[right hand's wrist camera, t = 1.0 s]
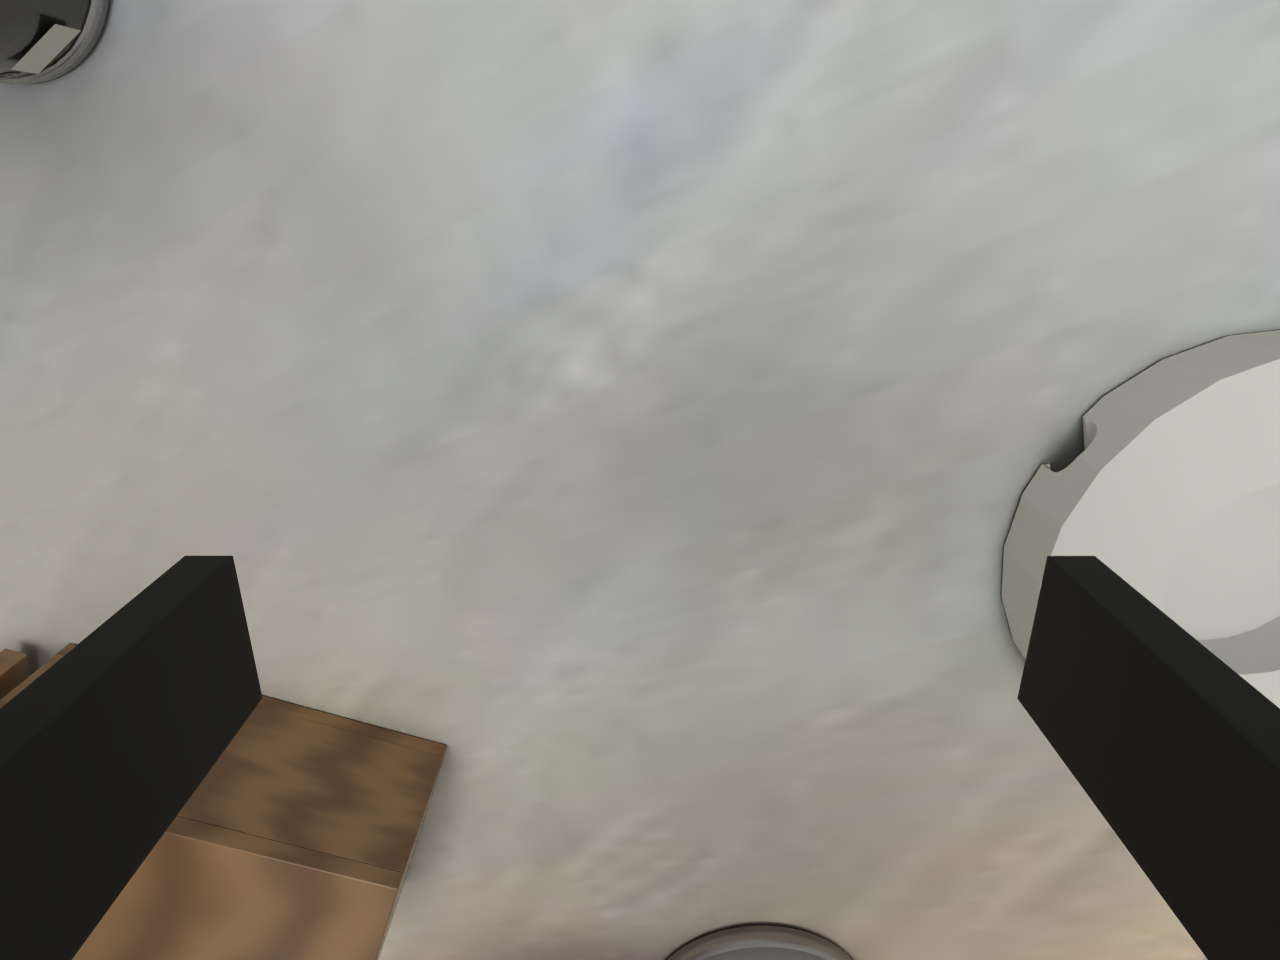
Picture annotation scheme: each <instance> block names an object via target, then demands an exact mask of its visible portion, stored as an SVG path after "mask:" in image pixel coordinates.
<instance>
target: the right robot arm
mask: <svg viewBox="0 0 1280 960" xmlns="http://www.w3.org/2000/svg"><path fill="white" fill-rule="evenodd" d="M261 700H262V694H261V689H260V685H259V680H258V675H257V670H256V665H255V661H254V656H253V651H252V646H251V641H250V636H249V632H248V627H247V622H246V617H245V612H244V608H243V603H242V598H241V593H240V588H239V584H238V579H237V574H236V569H235V564H234V559H233V556H184V557H183V558H182V559H181V560H180V561H178V562H177V563H176V564H175V565H174V566H172V567H171V568H170V569H169V570H167V571H166V572H165V573H164V574H163V575H161V576H160V577H159V578H158V579H157V580H155V581H154V582H153V583H152V584H151V585H149V586H148V587H147V588H146V589H144V590H143V591H142V592H141V593H140V594H138V595H137V596H136V597H135V598H134V599H132V600H131V601H130V602H129V603H128V604H126V605H125V606H124V607H123V608H121V609H120V610H119V611H118V612H117V613H115V614H114V615H113V616H112V617H111V618H109V619H108V620H107V621H106V622H104V623H103V624H102V625H101V626H100V627H98V628H97V629H96V630H95V631H94V632H92V633H91V634H90V635H89V636H88V637H86V638H85V639H84V640H83V641H81V642H80V643H79V644H78V645H77V646H75V647H74V648H73V649H72V650H71V651H69V652H68V653H67V654H66V655H64V656H63V657H62V658H61V659H60V660H58V661H57V662H56V663H55V664H54V665H52V666H51V667H50V668H49V669H48V670H46V671H45V672H44V673H43V674H41V675H40V676H39V677H38V678H37V679H35V680H34V681H33V682H32V683H31V684H29V685H28V686H27V687H26V688H25V689H23V690H22V691H21V692H20V693H18V694H17V695H16V696H15V697H14V698H12V699H11V700H10V701H9V702H8V703H6V704H5V705H4V706H3V707H1V708H0V960H72V959H73V958H74V956H75V955H76V953H77V952H78V951H79V949H80V948H81V947H82V945H83V944H84V942H85V941H86V940H87V938H88V937H89V936H90V934H91V933H92V931H93V930H94V929H95V927H96V926H97V925H98V923H99V922H100V920H101V919H102V918H103V916H104V915H105V914H106V912H107V911H108V910H109V908H110V907H111V905H112V904H113V903H114V901H115V900H116V899H117V897H118V896H119V894H120V893H121V892H122V890H123V889H124V888H125V886H126V885H127V883H128V882H129V881H130V879H131V878H132V877H133V875H134V874H135V872H136V871H137V870H138V868H139V867H140V866H141V864H142V863H143V862H144V860H145V859H146V857H147V856H148V855H149V853H150V852H151V851H152V849H153V848H154V846H155V845H156V844H157V842H158V841H159V840H160V838H161V837H162V835H163V834H164V833H165V831H166V830H167V829H168V827H169V826H170V824H171V823H172V822H173V820H174V819H175V818H176V816H177V815H178V814H179V812H180V811H181V809H182V808H183V807H184V805H185V804H186V803H187V801H188V800H189V798H190V797H191V796H192V794H193V793H194V792H195V790H196V789H197V787H198V786H199V785H200V783H201V782H202V781H203V779H204V778H205V776H206V775H207V774H208V772H209V771H210V770H211V768H212V767H213V766H214V764H215V763H216V761H217V760H218V759H219V757H220V756H221V755H222V753H223V752H224V750H225V749H226V748H227V746H228V745H229V744H230V742H231V741H232V739H233V738H234V737H235V735H236V734H237V733H238V731H239V730H240V728H241V727H242V726H243V724H244V723H245V722H246V720H247V719H248V718H249V716H250V715H251V713H252V712H253V711H254V709H255V708H256V707H257V705H258V704H259V702H260V701H261ZM1018 700H1019V701H1020V702H1021V704H1022V705H1023V707H1024V708H1025V709H1026V711H1027V712H1028V713H1029V715H1030V716H1031V718H1032V719H1033V720H1034V722H1035V723H1036V724H1037V726H1038V727H1039V728H1040V730H1041V731H1042V733H1043V734H1044V735H1045V737H1046V738H1047V739H1048V741H1049V742H1050V744H1051V745H1052V746H1053V748H1054V749H1055V750H1056V752H1057V753H1058V755H1059V756H1060V757H1061V759H1062V760H1063V761H1064V763H1065V764H1066V766H1067V767H1068V768H1069V770H1070V771H1071V772H1072V774H1073V775H1074V776H1075V778H1076V779H1077V781H1078V782H1079V783H1080V785H1081V786H1082V787H1083V789H1084V790H1085V792H1086V793H1087V794H1088V796H1089V797H1090V798H1091V800H1092V801H1093V803H1094V804H1095V805H1096V807H1097V808H1098V809H1099V811H1100V812H1101V814H1102V815H1103V816H1104V818H1105V819H1106V820H1107V822H1108V823H1109V824H1110V826H1111V827H1112V829H1113V830H1114V831H1115V833H1116V834H1117V835H1118V837H1119V838H1120V840H1121V841H1122V842H1123V844H1124V845H1125V846H1126V848H1127V849H1128V851H1129V852H1130V853H1131V855H1132V856H1133V857H1134V859H1135V860H1136V862H1137V863H1138V864H1139V866H1140V867H1141V868H1142V870H1143V871H1144V872H1145V874H1146V875H1147V877H1148V878H1149V879H1150V881H1151V882H1152V883H1153V885H1154V886H1155V888H1156V889H1157V890H1158V892H1159V893H1160V894H1161V896H1162V897H1163V899H1164V900H1165V901H1166V903H1167V904H1168V905H1169V907H1170V908H1171V910H1172V911H1173V912H1174V914H1175V915H1176V916H1177V918H1178V919H1179V920H1180V922H1181V923H1182V925H1183V926H1184V927H1185V929H1186V930H1187V931H1188V933H1189V934H1190V936H1191V937H1192V938H1193V940H1194V941H1195V942H1196V944H1197V945H1198V947H1199V948H1200V949H1201V951H1202V952H1203V953H1204V955H1205V956H1206V958H1207V959H1208V960H1280V708H1279V707H1277V706H1276V705H1275V704H1274V703H1272V702H1271V701H1270V700H1269V699H1268V698H1266V697H1265V696H1264V695H1263V694H1262V693H1260V692H1259V691H1258V690H1257V689H1255V688H1254V687H1253V686H1252V685H1251V684H1249V683H1248V682H1247V681H1246V680H1245V679H1243V678H1242V677H1241V676H1240V675H1239V674H1237V673H1236V672H1235V671H1234V670H1232V669H1231V668H1230V667H1229V666H1228V665H1226V664H1225V663H1224V662H1223V661H1222V660H1220V659H1219V658H1218V657H1217V656H1215V655H1214V654H1213V653H1212V652H1211V651H1209V650H1208V649H1207V648H1206V647H1205V646H1203V645H1202V644H1201V643H1200V642H1199V641H1197V640H1196V639H1195V638H1194V637H1192V636H1191V635H1190V634H1189V633H1188V632H1186V631H1185V630H1184V629H1183V628H1182V627H1180V626H1179V625H1178V624H1177V623H1176V622H1174V621H1173V620H1172V619H1171V618H1169V617H1168V616H1167V615H1166V614H1165V613H1163V612H1162V611H1161V610H1160V609H1159V608H1157V607H1156V606H1155V605H1154V604H1152V603H1151V602H1150V601H1149V600H1148V599H1146V598H1145V597H1144V596H1143V595H1142V594H1140V593H1139V592H1138V591H1137V590H1136V589H1134V588H1133V587H1132V586H1131V585H1129V584H1128V583H1127V582H1126V581H1125V580H1123V579H1122V578H1121V577H1120V576H1119V575H1117V574H1116V573H1115V572H1114V571H1113V570H1111V569H1110V568H1109V567H1108V566H1106V565H1105V564H1104V563H1103V562H1102V561H1100V560H1099V559H1098V558H1097V557H1096V556H1047V559H1046V564H1045V569H1044V574H1043V579H1042V584H1041V588H1040V593H1039V598H1038V603H1037V608H1036V612H1035V617H1034V622H1033V627H1032V632H1031V636H1030V641H1029V646H1028V651H1027V656H1026V661H1025V665H1024V670H1023V675H1022V680H1021V685H1020V689H1019V694H1018ZM667 960H852V959H851V958H850V957H849V956H848V955H847V954H846V953H845V952H844V951H842V950H841V949H840V948H839V947H837V946H836V945H834V944H832V943H831V942H829V941H827V940H825V939H823V938H821V937H819V936H816V935H814V934H811V933H808V932H805V931H802V930H797V929H793V928H787V927H781V926H760V925H757V926H744V927H737V928H731V929H727V930H722V931H719V932H715V933H712V934H709V935H707V936H704V937H702V938H699V939H697V940H695V941H693V942H691V943H689V944H688V945H686V946H684V947H683V948H681V949H680V950H678V951H677V952H675V953H674V954H673V955H672V956H671V957H669V958H668V959H667Z"/></svg>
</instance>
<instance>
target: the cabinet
mask: <svg viewBox="0 0 1280 960" xmlns="http://www.w3.org/2000/svg"><path fill="white" fill-rule="evenodd" d="M75 646H77V645H74V644H69V645H67V646H66V647H65V648H64V649H62V650H61V651H60V652H59V653H58V654H56V655H55V656H54V657H52V658H51V659H50V660H49V661H48V662H46V663H45V664H44V665H43V666H41V667H40V668H39V669H38V670H37V671H35V672H34V673H33V674H32V675H30V676H29V677H28V678H27V679H26V680H24V681H23V682H22V683H21V684H19V685H18V686H17V687H16V688H14V689H13V690H12V691H11V692H10V693H8V694H7V695H6V696H5V697H3V698H2V699H1V700H0V708H1V707H3V706H4V705H5V704H6V703H8V702H9V701H10V700H11V699H12V698H14V697H15V696H16V695H17V694H18V693H20V692H21V691H22V690H23V689H25V688H26V687H27V686H28V685H29V684H31V683H32V682H33V681H34V680H35V679H37V678H38V677H39V676H40V675H41V674H43V673H44V672H45V671H46V670H48V669H49V668H50V667H51V666H52V665H54V664H55V663H56V662H57V661H58V660H60V659H61V658H62V657H63V656H64V655H66V654H67V653H68V652H69V651H71V650H72V649H73V648H74V647H75ZM446 748H447V746H446V745H443V744H439V743H435V742H432V741H428V740H424V739H421V738H417V737H413V736H409V735H406V734H402V733H398V732H395V731H391V730H387V729H384V728H380V727H376V726H373V725H369V724H365V723H362V722H358V721H354V720H350V719H347V718H343V717H339V716H336V715H332V714H328V713H325V712H321V711H317V710H314V709H310V708H306V707H303V706H299V705H295V704H291V703H288V702H284V701H280V700H277V699H273V698H269V697H266V696H262V700H261V701H260V702H259V704H258V705H257V707H256V708H255V709H254V711H253V712H252V713H251V715H250V716H249V718H248V719H247V720H246V722H245V723H244V724H243V726H242V727H241V728H240V730H239V731H238V733H237V734H236V735H235V737H234V738H233V739H232V741H231V742H230V744H229V745H228V746H227V748H226V749H225V750H224V752H223V753H222V755H221V756H220V757H219V759H218V760H217V761H216V763H215V764H214V766H213V767H212V768H211V770H210V771H209V772H208V774H207V775H206V776H205V778H204V779H203V781H202V782H201V783H200V785H199V786H198V787H197V789H196V790H195V792H194V793H193V794H192V796H191V797H190V798H189V800H188V801H187V803H186V804H185V805H184V807H183V808H182V809H181V811H180V812H179V814H178V815H177V816H176V818H175V819H174V820H173V822H172V823H171V824H170V826H169V827H168V829H167V830H166V831H165V833H164V834H163V835H162V837H161V838H160V840H159V841H158V842H157V844H156V845H155V846H154V848H153V849H152V851H151V852H150V853H149V855H148V856H147V857H146V859H145V860H144V862H143V863H142V864H141V866H140V867H139V868H138V870H137V871H136V872H135V874H134V875H133V877H132V878H131V879H130V881H129V882H128V883H127V885H126V886H125V888H124V889H123V890H122V892H121V893H120V894H119V896H118V897H117V899H116V900H115V901H114V903H113V904H112V905H111V907H110V908H109V910H108V911H107V912H106V914H105V915H104V916H103V918H102V919H101V920H100V922H99V923H98V925H97V926H96V927H95V929H94V930H93V931H92V933H91V934H90V936H89V937H88V938H87V940H86V941H85V942H84V944H83V945H82V947H81V948H80V949H79V951H78V952H77V953H76V955H75V956H74V958H73V959H72V960H378V959H379V956H380V953H381V950H382V947H383V945H384V942H385V939H386V936H387V933H388V930H389V927H390V924H391V921H392V918H393V915H394V912H395V909H396V906H397V903H398V900H399V897H400V894H401V891H402V888H403V885H404V882H405V879H406V876H407V872H408V869H409V866H410V863H411V860H412V857H413V853H414V850H415V847H416V844H417V841H418V837H419V834H420V831H421V828H422V825H423V822H424V818H425V815H426V812H427V809H428V806H429V802H430V799H431V796H432V793H433V790H434V787H435V783H436V780H437V777H438V774H439V771H440V768H441V764H442V761H443V758H444V755H445V752H446Z"/></svg>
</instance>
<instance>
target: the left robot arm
mask: <svg viewBox="0 0 1280 960" xmlns="http://www.w3.org/2000/svg"><path fill="white" fill-rule="evenodd" d="M108 3H109V0H0V82H4V83H13V84H33V83H40V82H44V81H48V80H52V79H54V78H57V77H59V76H61V75H63V74H65V73H67V72H69V71H70V70H71V69H73V68H74V67H75V66H77V65H78V64H79V63H80V62H81V61H82V60H83V59H84V58H85V57H86V56H87V55H88V53H89V52H90V51H91V50H92V48H93V46H94V45H95V43H96V42H97V40H98V37H99V35H100V33H101V31H102V28H103V25H104V22H105V19H106V15H107V10H108Z"/></svg>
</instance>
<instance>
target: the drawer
mask: <svg viewBox="0 0 1280 960" xmlns="http://www.w3.org/2000/svg"><path fill="white" fill-rule="evenodd" d="M26 669H27V654H24V653H20V652H16V651H12V650H9V649H4V650H3V651H1V652H0V700H1V699H2V698H3V697H5V696H6V695H7V694H8V693H10V692H11V691H12V690H13V689H14V688H16V687H17V686H18V685H19V684H21V683H22V682H23V681H24V680H26Z"/></svg>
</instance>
